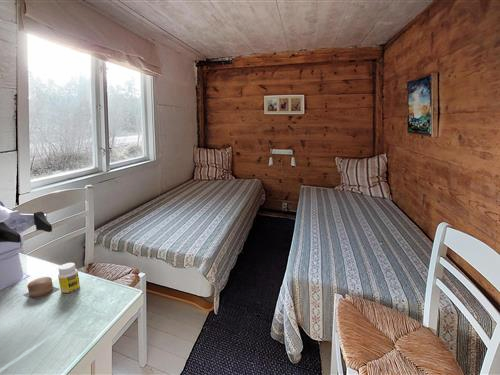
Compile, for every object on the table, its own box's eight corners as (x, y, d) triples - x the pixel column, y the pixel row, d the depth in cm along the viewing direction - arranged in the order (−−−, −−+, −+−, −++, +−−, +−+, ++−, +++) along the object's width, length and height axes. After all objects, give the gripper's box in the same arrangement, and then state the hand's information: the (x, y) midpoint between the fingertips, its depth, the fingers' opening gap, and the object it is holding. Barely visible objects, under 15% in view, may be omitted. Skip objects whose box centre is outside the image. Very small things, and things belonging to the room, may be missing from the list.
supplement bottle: (71, 297, 76) (66, 271, 74) (57, 295, 77) (52, 269, 75) (84, 287, 81) (80, 262, 79) (71, 285, 82) (66, 261, 80)
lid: (25, 295, 76) (22, 285, 76) (46, 284, 81) (44, 275, 81) (36, 299, 74) (34, 289, 73) (57, 288, 79) (55, 279, 78)
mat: (23, 296, 77) (22, 294, 76) (45, 285, 82) (45, 283, 82) (38, 302, 74) (37, 300, 74) (60, 290, 79) (59, 289, 79)
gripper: (-30, 214, 69) (0, 229, 65) (33, 200, 82) (61, 212, 78) (-25, 238, 71) (4, 254, 67) (35, 221, 84) (63, 233, 80)
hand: (35, 233), depth 72 cm, fingers open, 7 cm apart
